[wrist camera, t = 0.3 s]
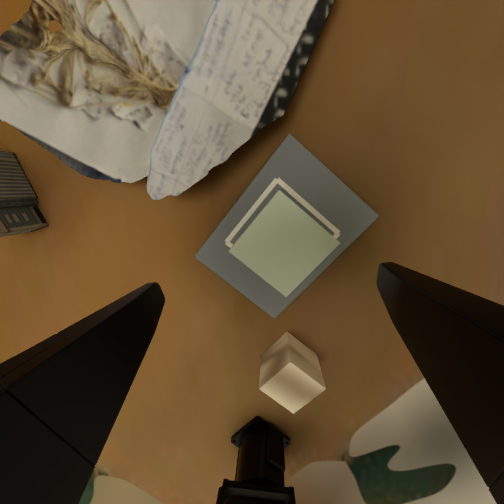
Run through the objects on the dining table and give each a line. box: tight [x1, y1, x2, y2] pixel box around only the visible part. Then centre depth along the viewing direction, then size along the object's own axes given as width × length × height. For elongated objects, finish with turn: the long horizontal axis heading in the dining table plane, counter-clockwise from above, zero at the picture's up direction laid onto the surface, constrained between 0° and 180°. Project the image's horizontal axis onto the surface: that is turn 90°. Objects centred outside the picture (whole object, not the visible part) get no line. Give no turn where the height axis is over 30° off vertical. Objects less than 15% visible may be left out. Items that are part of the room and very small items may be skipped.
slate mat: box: [194, 133, 379, 319], centre depth 23 cm, size 16×12×1 cm
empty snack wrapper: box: [0, 0, 334, 201], centre depth 17 cm, size 24×30×5 cm
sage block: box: [229, 190, 340, 297], centre depth 21 cm, size 7×7×4 cm
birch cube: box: [259, 332, 326, 414], centre depth 25 cm, size 5×5×5 cm
